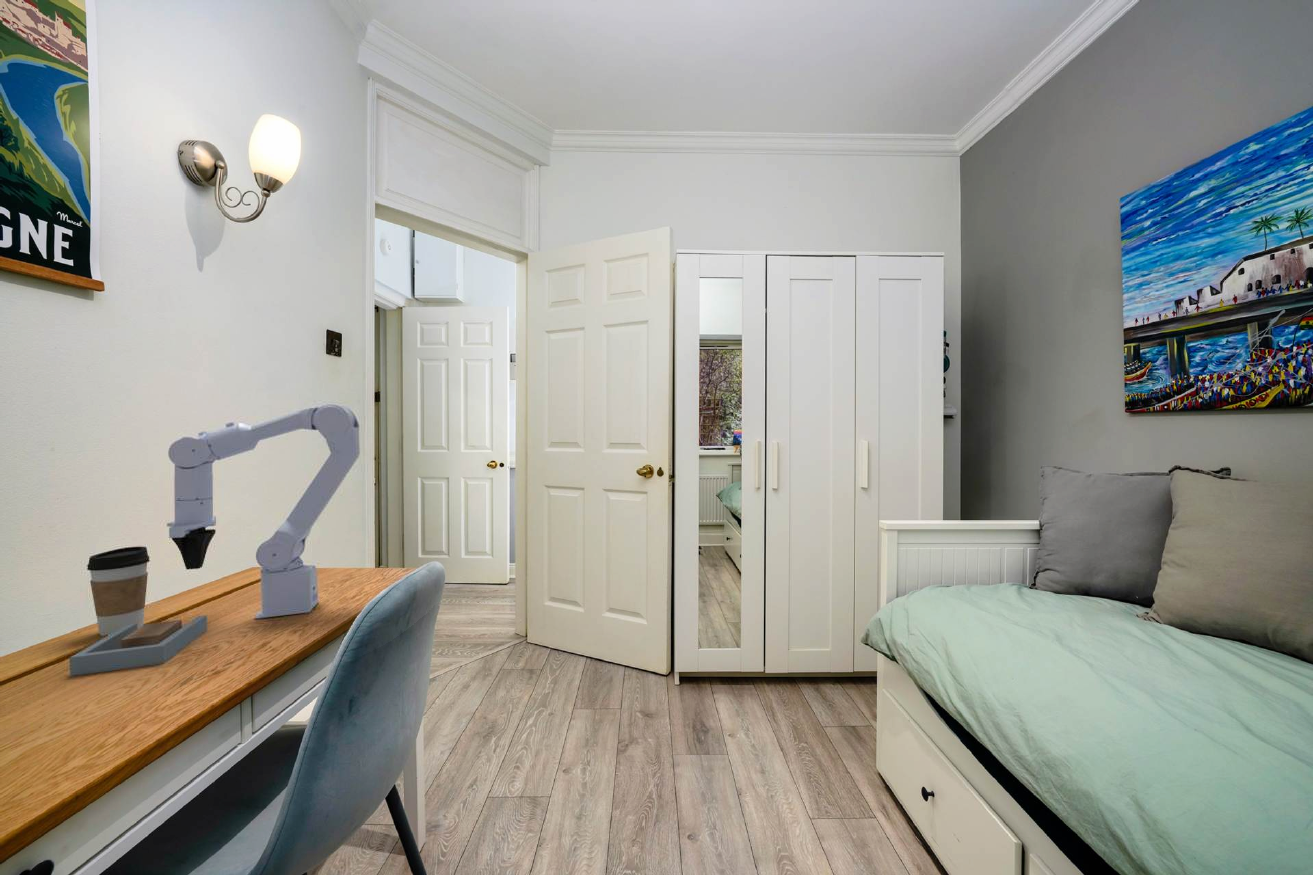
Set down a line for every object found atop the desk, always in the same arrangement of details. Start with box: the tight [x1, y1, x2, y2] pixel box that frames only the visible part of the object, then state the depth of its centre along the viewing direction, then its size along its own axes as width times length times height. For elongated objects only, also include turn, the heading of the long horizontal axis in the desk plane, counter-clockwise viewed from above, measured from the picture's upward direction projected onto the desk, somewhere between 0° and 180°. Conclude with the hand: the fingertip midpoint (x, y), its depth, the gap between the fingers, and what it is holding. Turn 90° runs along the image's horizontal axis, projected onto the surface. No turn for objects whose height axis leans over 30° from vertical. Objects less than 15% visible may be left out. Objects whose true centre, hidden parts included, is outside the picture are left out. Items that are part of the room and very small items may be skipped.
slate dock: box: [69, 614, 208, 677], centre depth 91 cm, size 11×16×3 cm
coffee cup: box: [86, 545, 150, 637], centre depth 102 cm, size 8×8×15 cm
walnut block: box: [121, 619, 183, 649], centre depth 92 cm, size 5×8×4 cm, turn 21°
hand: (194, 568), depth 105 cm, fingers closed
